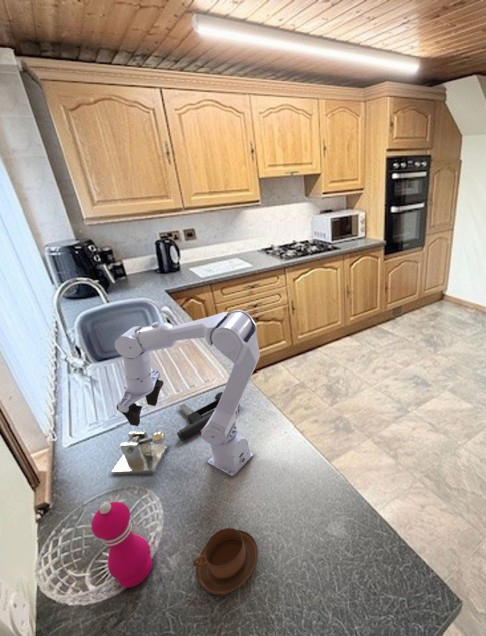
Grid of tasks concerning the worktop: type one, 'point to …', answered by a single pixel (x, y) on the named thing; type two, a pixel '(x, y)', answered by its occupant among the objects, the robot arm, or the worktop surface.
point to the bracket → (139, 456)
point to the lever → (149, 438)
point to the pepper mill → (122, 544)
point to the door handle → (197, 418)
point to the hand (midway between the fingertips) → (143, 414)
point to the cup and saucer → (226, 561)
